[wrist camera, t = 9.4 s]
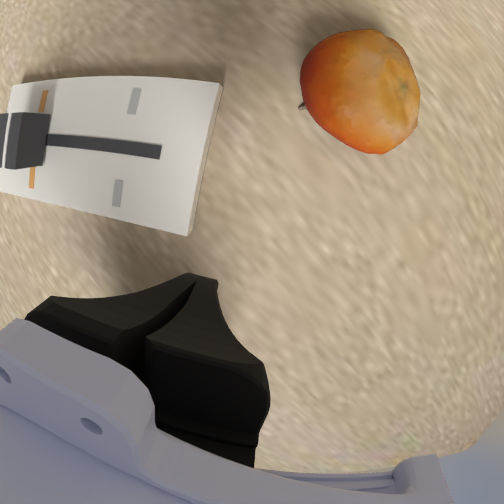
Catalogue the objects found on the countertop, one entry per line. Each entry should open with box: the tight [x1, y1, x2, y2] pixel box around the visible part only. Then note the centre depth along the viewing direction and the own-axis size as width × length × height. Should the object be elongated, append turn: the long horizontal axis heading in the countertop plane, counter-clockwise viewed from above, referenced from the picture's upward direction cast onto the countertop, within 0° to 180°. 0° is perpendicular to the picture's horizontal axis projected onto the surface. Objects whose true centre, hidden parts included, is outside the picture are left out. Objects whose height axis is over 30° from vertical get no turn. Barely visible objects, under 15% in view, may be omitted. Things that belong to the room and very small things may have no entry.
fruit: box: [299, 29, 420, 154], centre depth 15 cm, size 8×8×8 cm
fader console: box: [0, 76, 223, 236], centre depth 19 cm, size 22×11×2 cm, turn 77°
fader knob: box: [0, 112, 50, 170], centre depth 17 cm, size 4×4×4 cm
